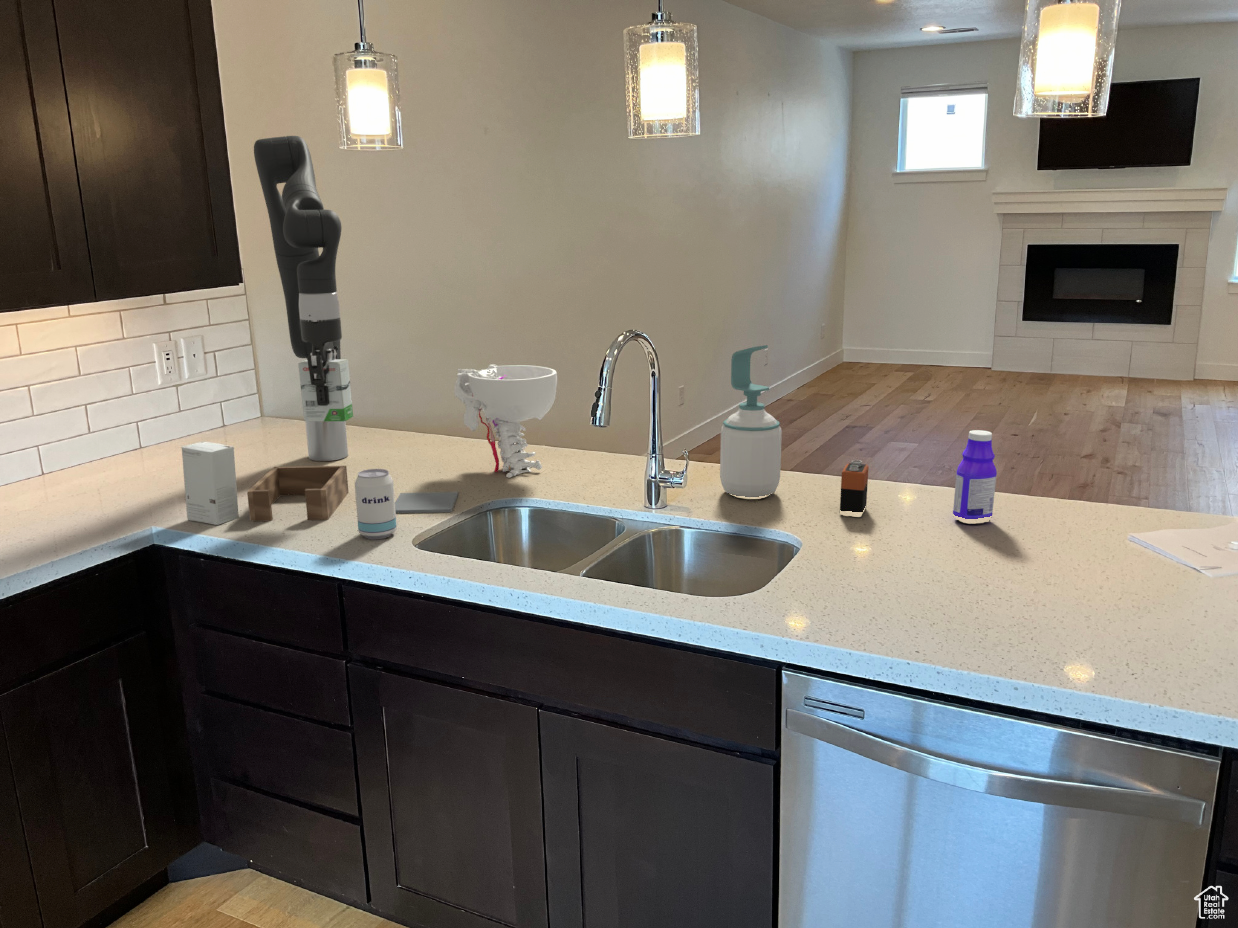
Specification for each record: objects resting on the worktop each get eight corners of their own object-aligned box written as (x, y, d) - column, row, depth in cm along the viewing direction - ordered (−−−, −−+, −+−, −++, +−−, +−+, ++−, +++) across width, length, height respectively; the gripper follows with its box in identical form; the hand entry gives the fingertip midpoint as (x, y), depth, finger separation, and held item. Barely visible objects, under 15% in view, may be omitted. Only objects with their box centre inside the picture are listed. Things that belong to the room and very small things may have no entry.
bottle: (977, 514, 193) (985, 427, 189) (998, 523, 188) (1006, 433, 184) (946, 519, 191) (953, 430, 186) (966, 528, 186) (974, 437, 181)
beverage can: (359, 542, 181) (354, 479, 178) (358, 531, 187) (353, 469, 184) (398, 539, 183) (393, 476, 180) (395, 527, 189) (391, 466, 186)
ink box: (354, 417, 200) (349, 358, 197) (345, 422, 195) (340, 362, 192) (313, 416, 201) (307, 357, 198) (302, 421, 196) (297, 361, 193)
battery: (866, 508, 198) (869, 459, 195) (861, 518, 192) (864, 468, 189) (844, 506, 199) (846, 458, 197) (839, 516, 193) (841, 466, 191)
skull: (573, 465, 232) (571, 367, 226) (539, 486, 215) (535, 381, 209) (477, 456, 240) (473, 362, 234) (437, 476, 223) (431, 375, 217)
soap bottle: (750, 506, 200) (754, 351, 192) (707, 493, 209) (709, 344, 201) (792, 494, 207) (797, 345, 199) (748, 482, 217) (751, 339, 209)
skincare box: (186, 520, 195) (177, 447, 191) (210, 512, 200) (201, 440, 196) (219, 526, 191) (210, 451, 187) (242, 517, 196) (234, 443, 193)
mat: (400, 495, 209) (400, 492, 209) (458, 494, 210) (458, 491, 210) (390, 513, 198) (390, 510, 198) (451, 511, 198) (451, 509, 198)
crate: (277, 494, 211) (274, 466, 210) (348, 492, 212) (346, 465, 210) (250, 521, 194) (247, 491, 192) (328, 519, 194) (325, 489, 193)
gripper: (311, 312, 200) (318, 395, 204) (289, 320, 186) (297, 410, 190) (348, 312, 200) (355, 395, 204) (329, 320, 186) (337, 409, 190)
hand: (327, 401), depth 197 cm, fingers closed on ink box, 5 cm apart
